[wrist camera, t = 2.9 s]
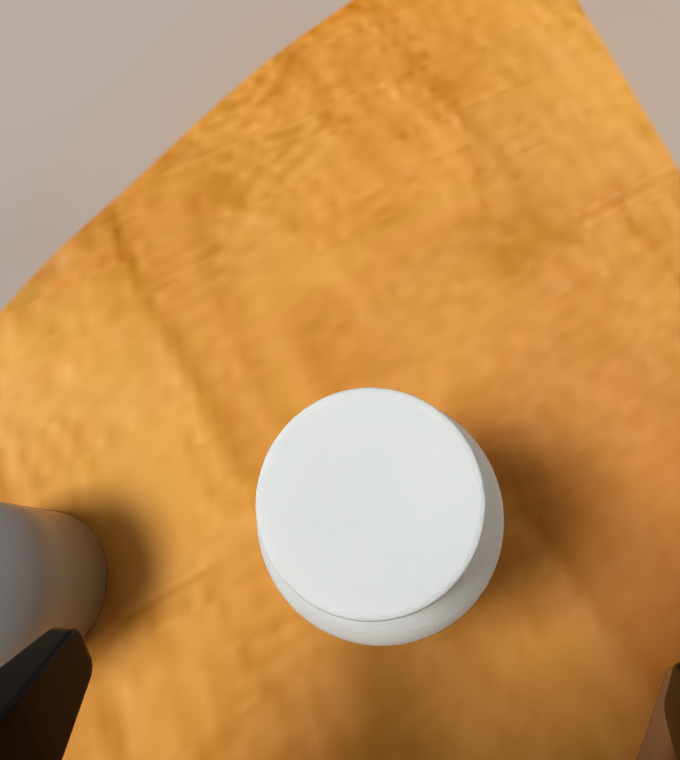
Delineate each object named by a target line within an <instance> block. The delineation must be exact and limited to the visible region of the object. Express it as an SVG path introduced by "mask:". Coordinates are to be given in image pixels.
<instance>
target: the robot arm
mask: <svg viewBox="0 0 680 760" xmlns="http://www.w3.org/2000/svg"><path fill="white" fill-rule="evenodd" d="M91 674H92V659H91V656H90V654H89V651H88V648H87V646H86V643H85V641H84V638H83V635H82V633H81V631H80V630H79V629H77V628H74V627H53V628H51V629H49V630H48V631H46V632H45V633H44V634H42V635H41V636H40V637H38V638H37V639H36V640H35V641H33V642H32V643H31V644H29V645H28V646H27V647H26V648H24V649H23V650H22V651H20V652H19V653H18V654H17V655H15V656H14V657H13V658H11V659H10V660H9V661H8V662H6V663H5V664H4V665H2V666H1V667H0V760H62V758H63V755H64V753H65V750H66V747H67V744H68V741H69V738H70V735H71V732H72V730H73V727H74V724H75V721H76V718H77V715H78V712H79V710H80V707H81V704H82V701H83V698H84V695H85V692H86V689H87V687H88V684H89V681H90V678H91ZM664 712H665V718H666V722H667V726H668V730H669V734H670V738H671V742H672V746H673V750H674V754H675V758H676V760H680V662H679V663H677V664H675V665H674V667H673V669H672V673H671V676H670V680H669V683H668V687H667V690H666V694H665V698H664Z"/></svg>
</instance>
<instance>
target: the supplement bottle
mask: <svg viewBox="0 0 680 760" xmlns="http://www.w3.org/2000/svg"><path fill="white" fill-rule="evenodd" d="M256 516H257V531H258V538H259V544H260V548H261V552H262V556H263V560H264V562H265V565H266V568H267V570H268V572H269V574H270V576H271V578H272V580H273V582H274V584H275V585H276V587H277V588H278V590H279V591H280V593H281V594H282V596H283V597H284V598H285V599H286V601H287V602H288V603H289V604H290V605H291V606H292V608H293V609H294V610H295V611H296V612H298V613H299V614H300V615H301V616H302V617H303V618H304V619H306V620H307V621H309V622H310V623H311V624H313V625H314V626H316V627H317V628H319V629H321V630H323V631H325V632H327V633H329V634H331V635H333V636H335V637H337V638H340V639H343V640H346V641H349V642H353V643H358V644H364V645H370V646H393V645H402V644H407V643H411V642H415V641H418V640H421V639H424V638H427V637H429V636H431V635H433V634H435V633H438V632H440V631H442V630H443V629H445V628H446V627H448V626H449V625H451V624H453V623H454V622H455V621H456V620H458V619H459V618H460V617H461V616H463V615H464V614H465V613H466V612H467V611H468V610H469V609H470V608H471V607H472V606H473V605H474V603H475V602H476V601H477V600H478V598H479V597H480V596H481V594H482V593H483V591H484V590H485V588H486V586H487V585H488V583H489V581H490V579H491V577H492V575H493V573H494V570H495V568H496V565H497V562H498V559H499V556H500V552H501V547H502V542H503V534H504V509H503V501H502V495H501V491H500V488H499V484H498V481H497V478H496V476H495V473H494V471H493V468H492V466H491V464H490V462H489V460H488V458H487V457H486V455H485V454H484V452H483V450H482V449H481V447H480V446H479V445H478V443H477V442H476V441H475V440H474V438H473V437H472V436H471V435H470V434H469V433H468V432H467V431H466V430H465V429H464V428H463V427H462V426H461V425H460V424H459V423H458V422H456V421H455V420H453V419H452V418H451V417H449V416H448V415H447V414H445V413H443V412H442V411H440V410H438V409H437V408H435V407H434V406H432V405H430V404H429V403H427V402H425V401H423V400H421V399H419V398H417V397H415V396H413V395H410V394H406V393H403V392H399V391H396V390H391V389H383V388H356V389H351V390H346V391H341V392H338V393H335V394H332V395H329V396H327V397H325V398H323V399H321V400H318V401H317V402H315V403H314V404H312V405H310V406H308V407H307V408H305V409H304V410H303V411H301V412H300V413H299V414H298V415H297V416H295V417H294V418H293V419H292V420H291V421H290V422H289V423H288V424H287V425H286V426H285V427H284V429H283V430H282V431H281V432H280V434H279V435H278V436H277V438H276V439H275V441H274V442H273V444H272V446H271V447H270V449H269V451H268V453H267V455H266V457H265V460H264V463H263V465H262V468H261V472H260V476H259V480H258V484H257V491H256Z"/></svg>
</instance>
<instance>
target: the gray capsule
mask: <svg viewBox="0 0 680 760" xmlns="http://www.w3.org/2000/svg"><path fill="white" fill-rule="evenodd" d="M106 586H107V566H106V560H105V556H104V552H103V549H102V547H101V545H100V542H99V541H98V539H97V537H96V536H95V534H94V533H93V532H92V531H91V529H90V528H89V527H88V526H87V525H86V524H84V523H83V522H82V521H80V520H79V519H77V518H76V517H73V516H71V515H69V514H65V513H61V512H56V511H51V510H45V509H39V508H33V507H27V506H22V505H16V504H10V503H4V502H0V667H1V666H2V665H4V664H5V663H6V662H8V661H9V660H10V659H11V658H13V657H14V656H15V655H17V654H18V653H19V652H20V651H22V650H23V649H24V648H26V647H27V646H28V645H29V644H31V643H32V642H33V641H35V640H36V639H37V638H38V637H40V636H41V635H42V634H44V633H45V632H46V631H48V630H49V629H51V628H53V627H74V628H77V629H79V630H80V631H81V633H82V635H83V638H84V637H85V636H86V634H87V633H88V632H89V631H90V629H91V628H92V626H93V624H94V623H95V621H96V619H97V617H98V615H99V612H100V610H101V607H102V604H103V601H104V597H105V593H106Z"/></svg>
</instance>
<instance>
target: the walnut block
mask: <svg viewBox="0 0 680 760" xmlns="http://www.w3.org/2000/svg"><path fill="white" fill-rule="evenodd" d="M671 673H672V669H671V668H668V670H667V673H666V676H665V679H664V681H663V684H662V687H661V690H660V693H659V696H658V699H657V702H656V705H655V708H654V711H653V714H652V717H651V720H650V723H649V726H648V728H647V731H646V734H645V737H644V740H643V743H642V746H641V749H640V752H639V755H638V758H637V760H676V758H675V754H674V750H673V746H672V742H671V738H670V734H669V730H668V726H667V722H666V718H665V712H664V698H665V694H666V690H667V687H668V683H669V680H670V676H671Z"/></svg>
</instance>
